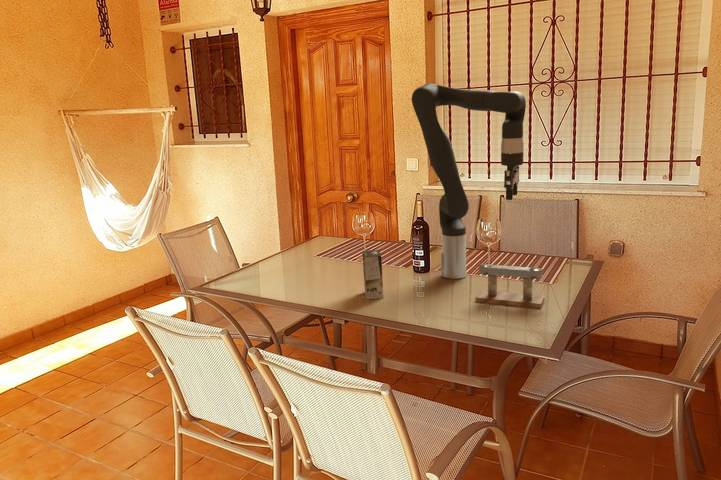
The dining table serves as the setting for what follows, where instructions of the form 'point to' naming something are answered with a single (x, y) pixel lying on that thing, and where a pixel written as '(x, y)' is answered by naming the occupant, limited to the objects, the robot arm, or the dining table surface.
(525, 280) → the peg stand
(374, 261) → the coffee box
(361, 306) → the dining table surface
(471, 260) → the dining table surface
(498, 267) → the grey knobbed bar
